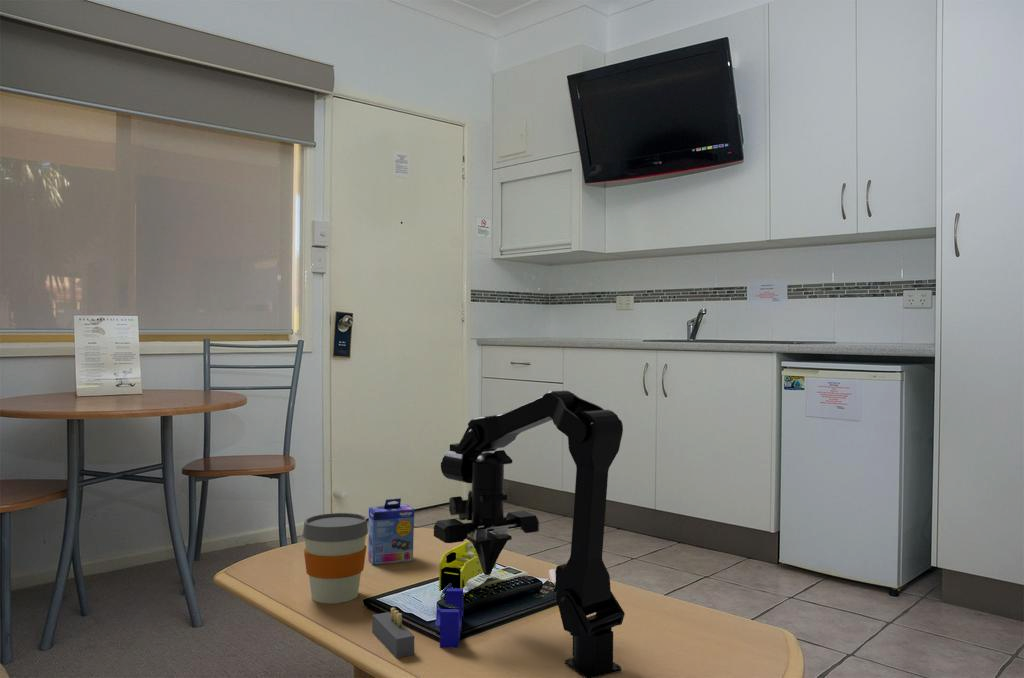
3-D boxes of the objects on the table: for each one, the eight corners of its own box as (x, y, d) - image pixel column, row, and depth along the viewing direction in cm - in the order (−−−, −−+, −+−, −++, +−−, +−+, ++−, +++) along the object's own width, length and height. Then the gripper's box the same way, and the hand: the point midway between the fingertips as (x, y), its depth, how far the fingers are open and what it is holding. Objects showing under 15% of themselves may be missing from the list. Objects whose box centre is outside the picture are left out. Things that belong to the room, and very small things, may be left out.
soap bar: (553, 593, 150) (553, 581, 150) (548, 579, 159) (548, 568, 159) (579, 593, 150) (579, 581, 150) (573, 579, 159) (573, 567, 159)
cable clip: (438, 621, 134) (438, 588, 134) (463, 621, 134) (463, 588, 134) (430, 648, 122) (431, 611, 122) (458, 648, 122) (458, 612, 122)
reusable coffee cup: (319, 611, 138) (319, 530, 138) (291, 593, 147) (292, 518, 147) (378, 597, 146) (379, 521, 146) (349, 581, 155) (349, 509, 155)
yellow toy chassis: (473, 575, 161) (473, 536, 161) (497, 578, 159) (497, 539, 159) (436, 597, 146) (437, 555, 146) (462, 602, 144) (462, 558, 144)
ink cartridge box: (372, 566, 166) (373, 501, 166) (366, 559, 171) (367, 496, 171) (414, 561, 170) (415, 498, 171) (407, 554, 175) (408, 493, 176)
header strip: (415, 654, 119) (415, 623, 119) (396, 658, 117) (396, 626, 117) (389, 629, 129) (389, 600, 129) (372, 632, 128) (372, 603, 128)
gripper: (511, 475, 144) (510, 556, 144) (422, 483, 135) (421, 569, 135) (541, 485, 135) (540, 571, 135) (447, 494, 126) (446, 587, 126)
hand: (486, 574), depth 133 cm, fingers closed
